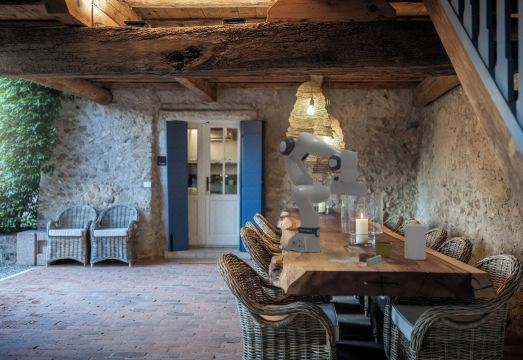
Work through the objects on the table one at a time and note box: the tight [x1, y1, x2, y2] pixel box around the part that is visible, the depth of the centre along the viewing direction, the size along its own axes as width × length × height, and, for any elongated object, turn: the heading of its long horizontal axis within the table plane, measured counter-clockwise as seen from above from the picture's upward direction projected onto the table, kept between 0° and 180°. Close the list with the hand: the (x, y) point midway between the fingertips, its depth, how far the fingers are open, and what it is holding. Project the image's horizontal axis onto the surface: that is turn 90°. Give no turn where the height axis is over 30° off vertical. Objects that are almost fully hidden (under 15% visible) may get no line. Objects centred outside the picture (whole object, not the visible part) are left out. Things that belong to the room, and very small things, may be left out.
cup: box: [403, 223, 427, 261], centre depth 254 cm, size 11×11×18 cm
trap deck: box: [327, 255, 382, 267], centre depth 236 cm, size 22×18×4 cm
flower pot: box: [374, 240, 393, 259], centre depth 250 cm, size 9×9×9 cm
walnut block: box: [358, 251, 376, 263], centre depth 235 cm, size 6×6×4 cm
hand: (347, 203), depth 252 cm, fingers open, 8 cm apart
